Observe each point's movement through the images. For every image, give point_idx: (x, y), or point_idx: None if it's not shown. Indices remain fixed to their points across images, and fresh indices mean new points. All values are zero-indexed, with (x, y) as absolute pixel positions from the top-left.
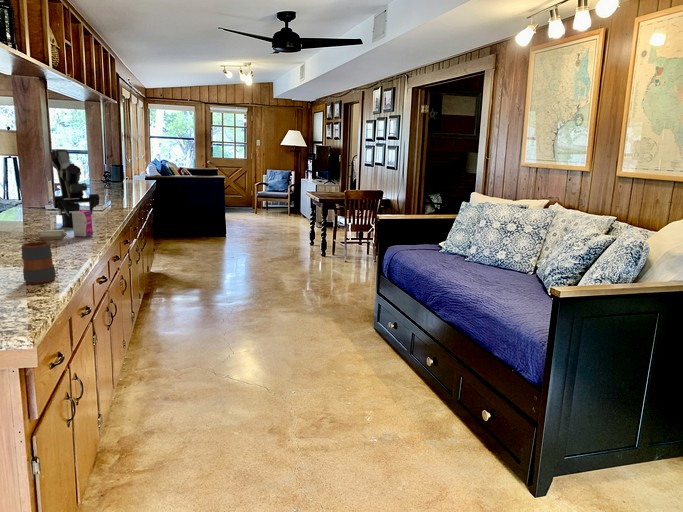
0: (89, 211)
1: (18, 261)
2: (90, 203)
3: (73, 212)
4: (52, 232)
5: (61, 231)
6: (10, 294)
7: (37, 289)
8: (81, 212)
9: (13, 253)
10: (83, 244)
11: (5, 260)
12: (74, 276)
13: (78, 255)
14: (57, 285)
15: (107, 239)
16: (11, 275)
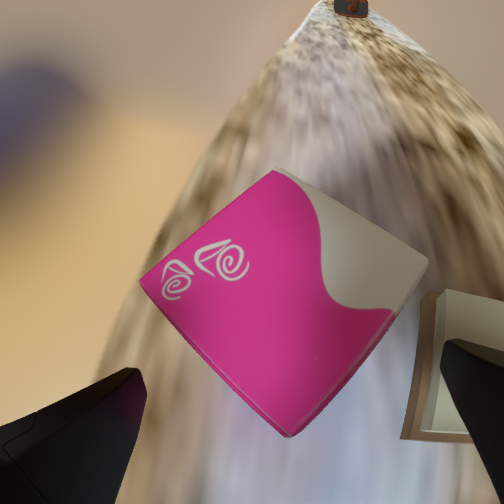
0: (167, 255)
1: (429, 68)
2: (3, 459)
3: (404, 246)
4: (491, 319)
5: (447, 338)
6: None
7: None
8: (292, 175)
9: (487, 127)
10: (304, 137)
11: (460, 84)
12: (313, 12)
13: (315, 55)
14: (328, 6)
15: (185, 193)
16: (396, 31)
